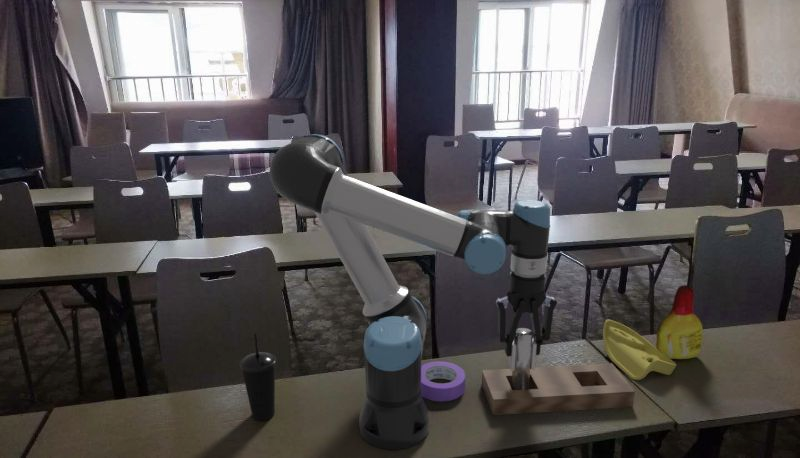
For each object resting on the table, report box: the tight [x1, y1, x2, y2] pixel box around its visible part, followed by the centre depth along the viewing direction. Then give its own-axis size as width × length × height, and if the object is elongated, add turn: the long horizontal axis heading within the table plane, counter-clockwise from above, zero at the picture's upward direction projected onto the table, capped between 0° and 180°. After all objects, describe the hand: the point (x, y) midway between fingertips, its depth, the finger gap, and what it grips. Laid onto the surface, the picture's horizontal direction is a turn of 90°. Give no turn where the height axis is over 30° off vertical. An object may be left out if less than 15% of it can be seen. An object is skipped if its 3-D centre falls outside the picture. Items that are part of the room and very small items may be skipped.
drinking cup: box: [239, 333, 277, 422], centre depth 125 cm, size 8×8×20 cm
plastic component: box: [602, 318, 677, 381], centre depth 147 cm, size 20×7×10 cm
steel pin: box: [511, 327, 534, 390], centre depth 130 cm, size 4×4×14 cm
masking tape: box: [421, 361, 466, 402], centre depth 137 cm, size 12×12×4 cm
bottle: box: [655, 284, 704, 360], centre depth 146 cm, size 12×6×20 cm, turn 95°
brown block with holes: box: [481, 362, 636, 416], centre depth 132 cm, size 32×12×4 cm, turn 94°
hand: (521, 366), depth 130 cm, fingers closed on steel pin, 4 cm apart
